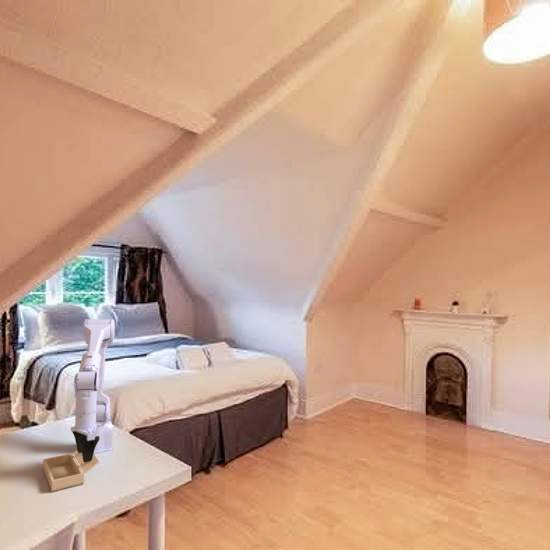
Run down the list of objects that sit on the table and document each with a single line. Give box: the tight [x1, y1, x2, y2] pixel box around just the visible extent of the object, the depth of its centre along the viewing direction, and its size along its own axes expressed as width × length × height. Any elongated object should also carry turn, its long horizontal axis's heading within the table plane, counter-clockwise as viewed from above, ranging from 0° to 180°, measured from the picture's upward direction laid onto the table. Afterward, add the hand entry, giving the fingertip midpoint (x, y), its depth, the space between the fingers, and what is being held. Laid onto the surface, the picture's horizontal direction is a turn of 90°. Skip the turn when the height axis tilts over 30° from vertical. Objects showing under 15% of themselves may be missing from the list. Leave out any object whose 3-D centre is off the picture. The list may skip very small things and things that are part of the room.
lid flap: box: [72, 450, 100, 475], centre depth 127 cm, size 4×15×1 cm
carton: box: [42, 453, 85, 493], centre depth 123 cm, size 8×16×3 cm, turn 37°
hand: (84, 456), depth 126 cm, fingers open, 7 cm apart
